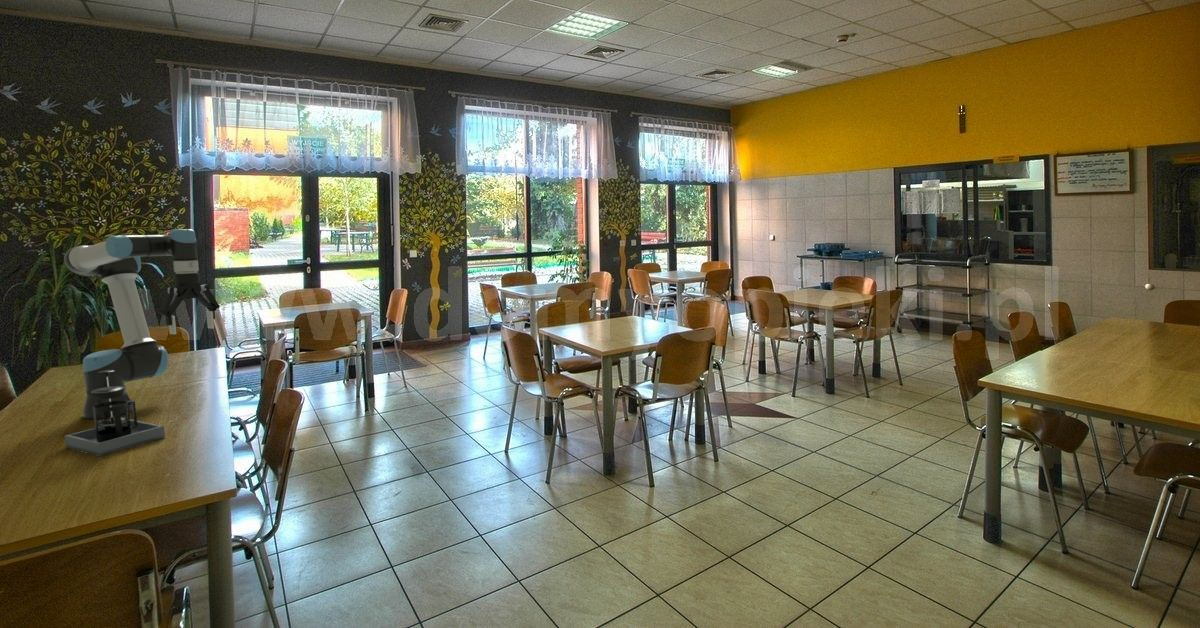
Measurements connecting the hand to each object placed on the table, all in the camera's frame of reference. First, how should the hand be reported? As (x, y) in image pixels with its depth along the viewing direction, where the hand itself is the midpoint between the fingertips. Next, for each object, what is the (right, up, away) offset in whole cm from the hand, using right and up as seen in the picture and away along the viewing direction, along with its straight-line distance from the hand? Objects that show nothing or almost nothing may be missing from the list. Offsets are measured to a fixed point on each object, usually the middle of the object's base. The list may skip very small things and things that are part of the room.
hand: (192, 331), depth 229 cm
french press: (-9, -35, -24) cm, 43 cm away
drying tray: (-9, -35, -24) cm, 44 cm away
